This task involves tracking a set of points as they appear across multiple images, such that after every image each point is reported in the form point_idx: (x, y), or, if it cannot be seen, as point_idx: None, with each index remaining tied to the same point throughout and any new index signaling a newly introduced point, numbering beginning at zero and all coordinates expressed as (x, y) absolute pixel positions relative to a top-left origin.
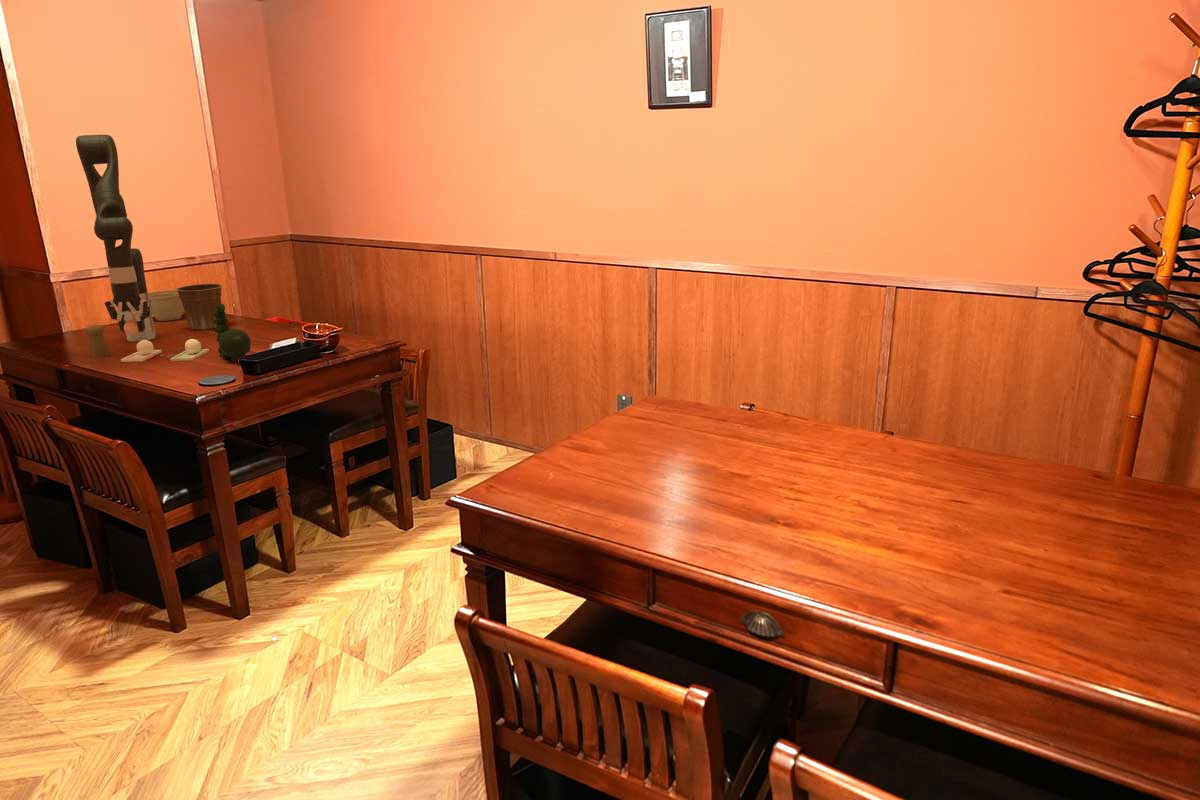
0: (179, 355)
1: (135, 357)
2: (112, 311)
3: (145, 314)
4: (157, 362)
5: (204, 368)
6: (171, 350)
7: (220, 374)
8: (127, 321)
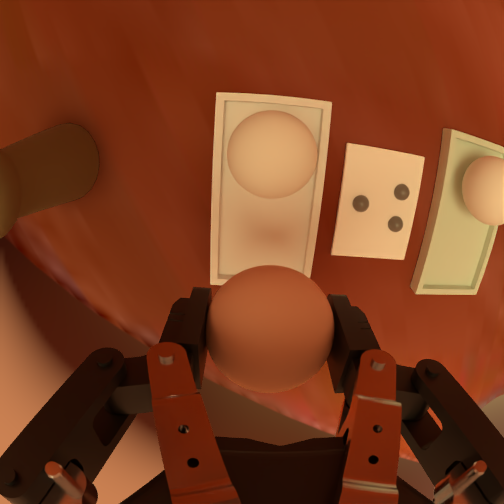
0: (437, 230)
1: (241, 210)
2: (107, 452)
3: (426, 432)
4: (363, 285)
5: (484, 357)
6: (350, 48)
7: (496, 392)
8: (243, 380)
